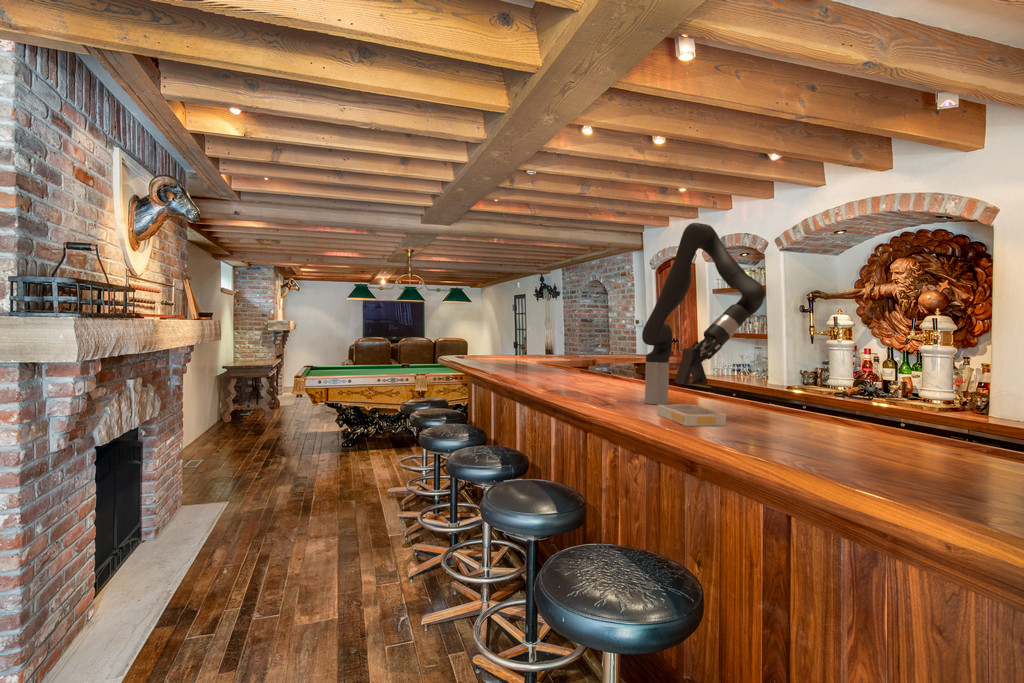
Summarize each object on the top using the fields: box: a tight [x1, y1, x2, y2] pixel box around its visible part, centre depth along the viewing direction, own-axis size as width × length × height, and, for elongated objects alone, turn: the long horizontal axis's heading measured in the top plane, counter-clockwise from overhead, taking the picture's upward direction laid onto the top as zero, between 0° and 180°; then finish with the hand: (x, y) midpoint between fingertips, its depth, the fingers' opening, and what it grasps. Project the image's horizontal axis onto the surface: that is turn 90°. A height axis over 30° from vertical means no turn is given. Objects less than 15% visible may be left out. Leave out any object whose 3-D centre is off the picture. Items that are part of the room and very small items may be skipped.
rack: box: [656, 404, 727, 427], centre depth 164 cm, size 21×14×4 cm, turn 8°
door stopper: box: [674, 347, 708, 385], centre depth 165 cm, size 9×6×12 cm, turn 101°
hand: (688, 365), depth 165 cm, fingers closed on door stopper, 6 cm apart
